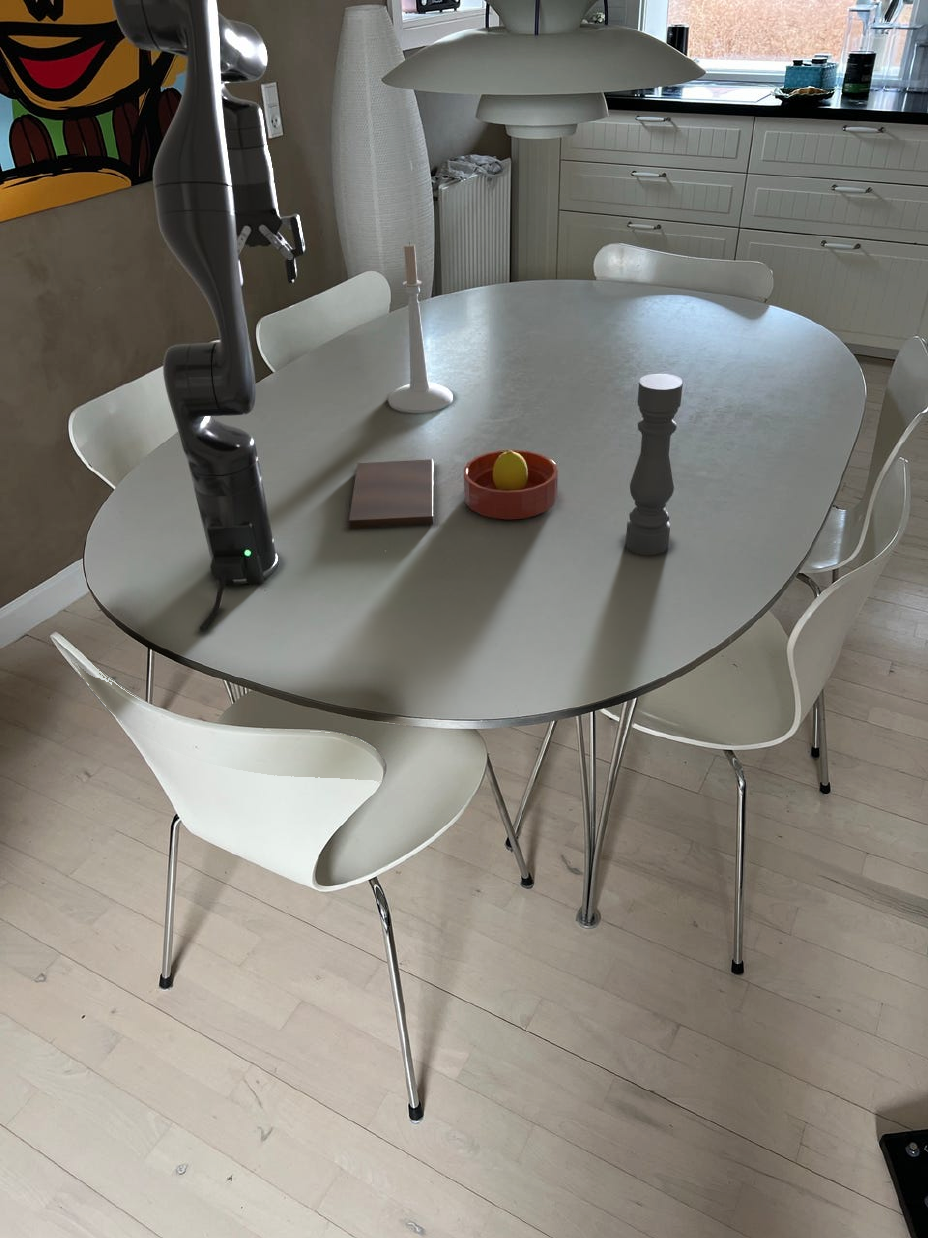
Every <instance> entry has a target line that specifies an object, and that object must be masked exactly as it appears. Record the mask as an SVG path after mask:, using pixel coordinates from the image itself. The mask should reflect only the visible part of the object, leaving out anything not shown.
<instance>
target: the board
mask: <svg viewBox="0 0 928 1238" xmlns="http://www.w3.org/2000/svg"><path fill="white" fill-rule="evenodd" d="M353 483H354V484H353V490H352V497H351V502H350V503H351V504H350V511H349V516H348V524H349V529H350V530H351V529H352V530H353V529H374V528H390V527H391V528H393V527H411V526H412V527H413V526H431V525H434V460H433V458H432V459H416V460H415V459H413V460H412V459H411V460H393V461H391V460H390V461H375V462H373V461H371V462H357V464H356V470H355V476H354V482H353Z"/></svg>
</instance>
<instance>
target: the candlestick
mask: <svg viewBox="0 0 928 1238" xmlns="http://www.w3.org/2000/svg"><path fill="white" fill-rule="evenodd" d="M403 250H404V264H405V278H406V279H405V280H404V281H402V285H403V286H404V287H405V293H406V294H407V297H408V302H407V305H408V306H407V307H408V331H409V332H408V335H409V336H408V337H409V339H408V340H409V341H408V343H409V379H410V381H409V384H405V385H402V386H400V387H397V388H396V389H394V391H392V393H390V395H389V396H388V398H387V399H388V400H387V401H388V405H389V406H390V408H392V409H393V410H396V411H398V412H401V413H410V414H424V413H431V412H435V411H439V410H442V409H445V408H446V407H448V406H449V405H450V404H452V402H453V400H454V399H453V398H454V396H453V392H452V391H450V390H449V388H447V387H445V386H443V385H441V384H438V383H435V382H430V381H429V375H428V368H427V359H426V351H425V343H424V334H423V327H422V317H421V310H420V309H421V308H420V302H419V300H418V298H419V294H420V292H421V289H420V286H421V284H422V283H423V282H422V280H419V279H418V271H417V270H418V269H417V268H418V267H417V255H416V244H415V243H411V242H410V241H409V242H408V243H406V244H403Z"/></svg>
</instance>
